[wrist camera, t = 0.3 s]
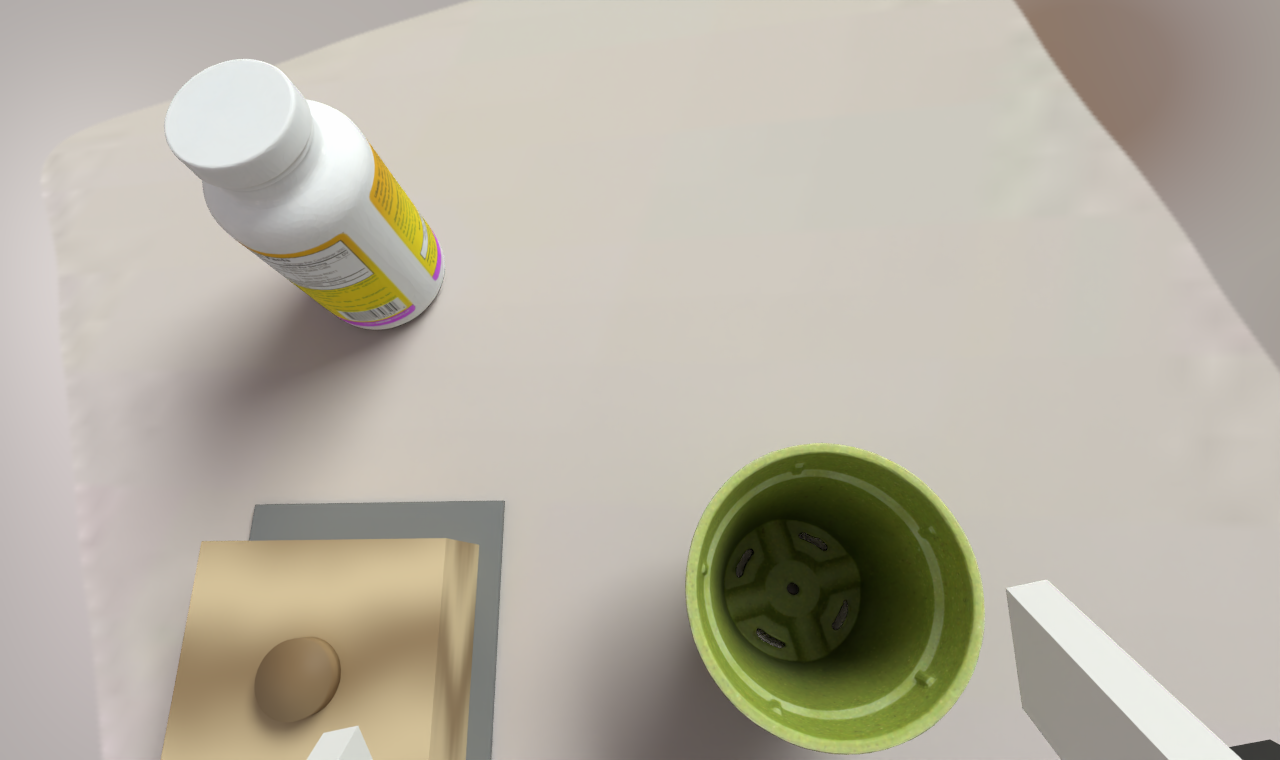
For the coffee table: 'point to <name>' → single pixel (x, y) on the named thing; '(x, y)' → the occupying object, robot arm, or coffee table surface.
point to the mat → (411, 522)
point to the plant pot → (835, 599)
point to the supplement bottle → (305, 193)
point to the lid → (326, 649)
